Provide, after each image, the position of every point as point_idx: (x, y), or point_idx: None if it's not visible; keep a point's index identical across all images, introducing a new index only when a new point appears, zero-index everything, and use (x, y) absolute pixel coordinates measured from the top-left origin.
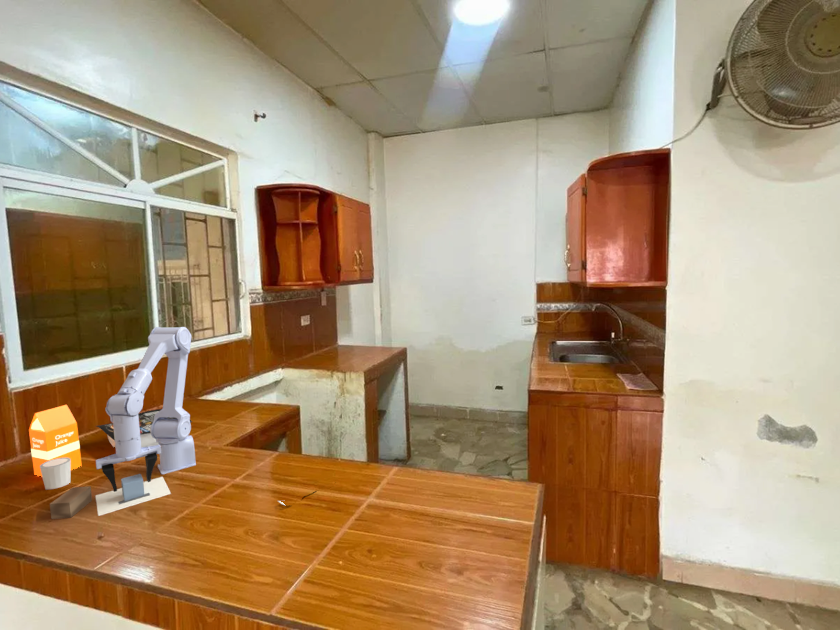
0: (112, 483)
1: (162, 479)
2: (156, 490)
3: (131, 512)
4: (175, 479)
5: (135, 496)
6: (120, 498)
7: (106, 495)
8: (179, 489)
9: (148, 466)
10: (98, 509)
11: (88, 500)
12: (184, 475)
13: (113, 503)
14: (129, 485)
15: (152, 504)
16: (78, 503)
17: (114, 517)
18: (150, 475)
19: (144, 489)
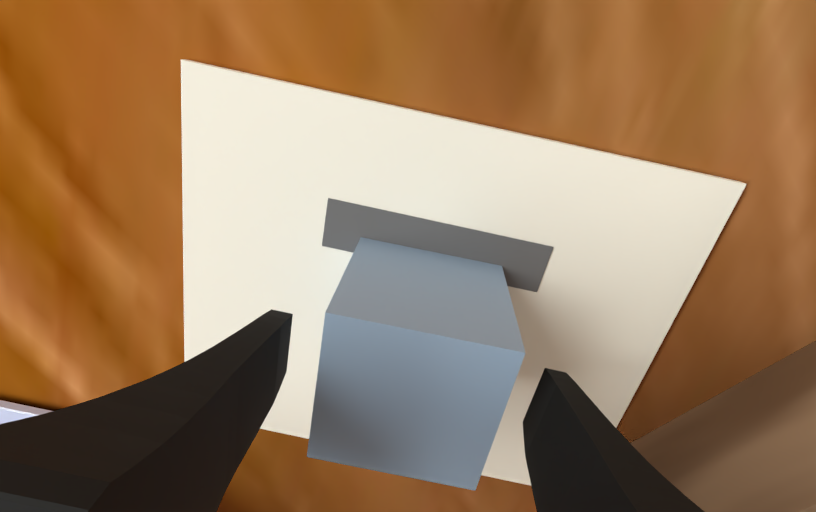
0: (616, 433)
1: None
2: (268, 237)
3: (547, 12)
4: (117, 311)
5: (424, 256)
6: None
7: None
8: (109, 104)
9: (183, 414)
10: (677, 297)
11: (667, 453)
12: (51, 318)
13: (568, 299)
14: (463, 325)
15: (363, 6)
16: (796, 430)
17: (678, 51)
18: (238, 334)
19: None
